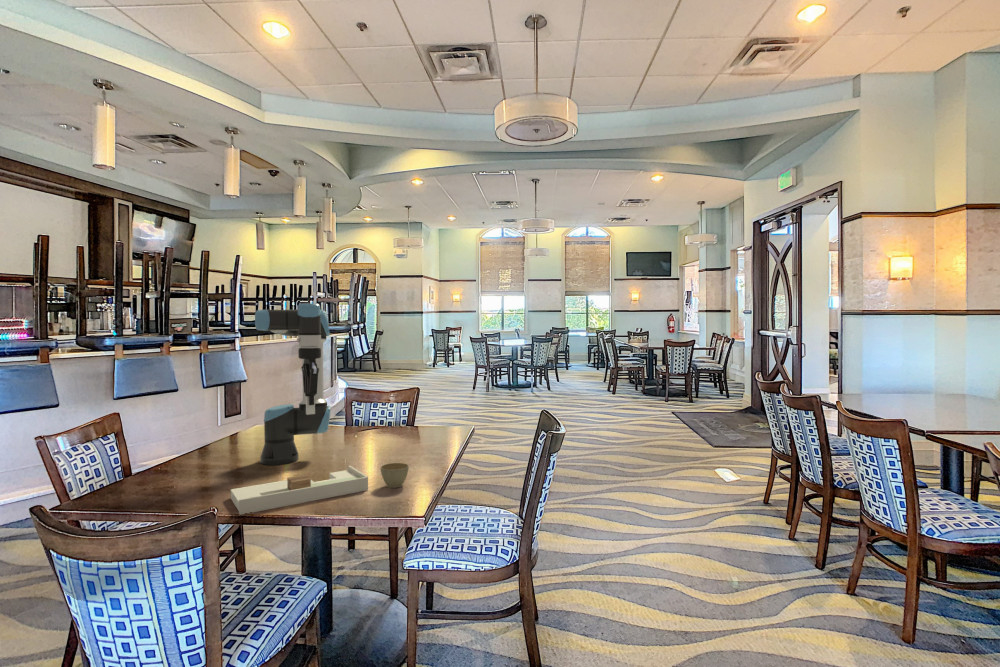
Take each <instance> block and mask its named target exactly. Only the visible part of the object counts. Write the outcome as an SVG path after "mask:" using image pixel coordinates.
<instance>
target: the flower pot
mask: <svg viewBox="0 0 1000 667" xmlns="http://www.w3.org/2000/svg"><path fill="white" fill-rule="evenodd" d="M409 467H410V465H409V464H407V463H404V462H391V463H386V464H383V465H380V473H381V478H382V479H383V481H384V483H385V485H386V486H387V488H389V489H396V488H397V487H398V488H401V487H402V486H403V485H404V483H405V480H406V479H407V477H408V473H409Z"/></svg>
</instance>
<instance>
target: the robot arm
mask: <svg viewBox="0 0 1000 667" xmlns="http://www.w3.org/2000/svg"><path fill="white" fill-rule="evenodd" d="M254 315H255V316H254V325H255V329H256V330H257V331H263V332H268V331H270V332H272V333H273V334H277V335H280V336H281V335H282V336H285V337H298V338H296V341H298V343H297V344H298V347H299V348H298V349H297V350H298V351H297V352H298V359H300V360H302V361H301V362H302V363H301V364H302V365H301V368H300V369H301V372H302V374H301V375H302V399H301V401H300V402H299V403H298V407H295V406H294V404H292V403H290V404H282V405H276V406H272V407H269V408H266V410H265V411H264V415H263V416H264V419H263V423H264V426H263V427H264V438H263V439H264V444H263V448H262V450H261V453H260V457H259V463H260V464H262V465H266V466H267V465H268V466H277V465H287V464H290V463H294V462H297V461H298V460H299V452H298V448H297V446H296V443H295V436H300V435H301V436H302V435H317V434H325V433H327V432H328V430H329V426H330V425H329V424H330V418H331V410H332V407H331V406H330V405H328V401H327V400H326V398H324V344H325V343H326V341H327V337H329V336H330V335H331V333H330V326H329V319H328V313H327V312H326V311H325V310H324V309H321V305H320V304H319V303H310V302H309V303H308V302H307V303H305V302H304V303H299V304H298V306H297V309H258V310H256V311H255V314H254Z"/></svg>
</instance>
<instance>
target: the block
mask: <svg viewBox="0 0 1000 667" xmlns="http://www.w3.org/2000/svg"><path fill="white" fill-rule="evenodd" d="M286 480H287V488H288V489H289V490H295V489H301V488H307V487H311V480H312V479H311V477H309V476H308V475H307V474H302V475H295V476H289V477H287V479H286Z"/></svg>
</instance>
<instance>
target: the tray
mask: <svg viewBox="0 0 1000 667" xmlns="http://www.w3.org/2000/svg"><path fill="white" fill-rule="evenodd" d="M368 490H369V476H368V475H366V474H364V473H363V472H362V471H360V470H358V469H356V468H355V467H353V466H352V465H347V469H345V470H339V471H334V472H329V479H325V480H319V481H318V480H317V481H314V480H312V479H311V487H307V488H301V489H295V490H289V489H288V488H287V479H284V480H279V481H274V482H267V483H261V484H256V485H248V486H243V487H236V488H231V489H230V499H231V501H232V503H233V505H234V506H235V507H236V509H237V510H238V515H239V516H240V515H246V514H245V513H247V514H250V512H252V513H256V512H262V511H267V510H271V509H277V508H283V507H287V506H288V507H289V506H292V505H297V504H298V505H299V504H303V503H308V502H313V501H317V500H318V501H319V500H324V499H329V498H333V497H340V496H344V495H350V494H354V493H360V492H365V491H368Z"/></svg>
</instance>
